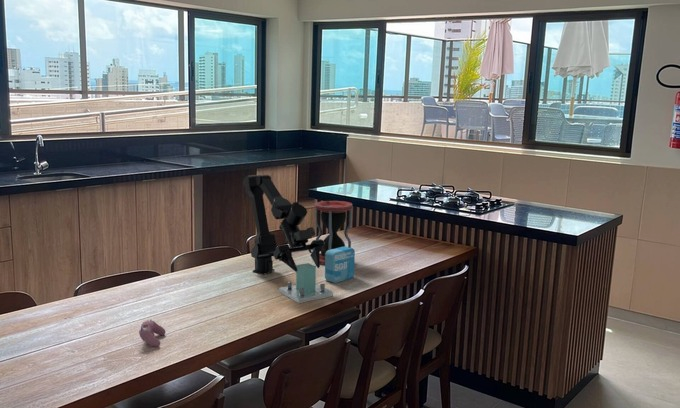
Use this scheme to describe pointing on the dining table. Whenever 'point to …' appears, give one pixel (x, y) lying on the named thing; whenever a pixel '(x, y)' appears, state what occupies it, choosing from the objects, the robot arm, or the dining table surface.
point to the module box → (306, 277)
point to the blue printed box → (339, 264)
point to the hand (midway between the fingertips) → (307, 269)
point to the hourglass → (332, 224)
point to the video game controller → (151, 332)
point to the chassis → (304, 297)
